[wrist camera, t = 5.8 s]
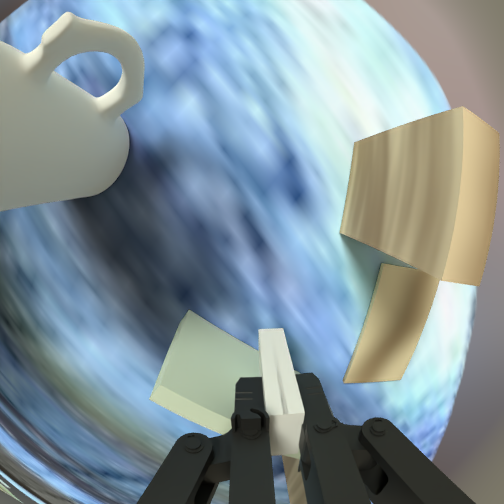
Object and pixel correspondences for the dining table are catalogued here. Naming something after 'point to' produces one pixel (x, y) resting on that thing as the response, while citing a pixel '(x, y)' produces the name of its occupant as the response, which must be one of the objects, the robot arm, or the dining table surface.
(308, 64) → the dining table surface
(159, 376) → the gate door
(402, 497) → the robot arm
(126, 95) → the mug
